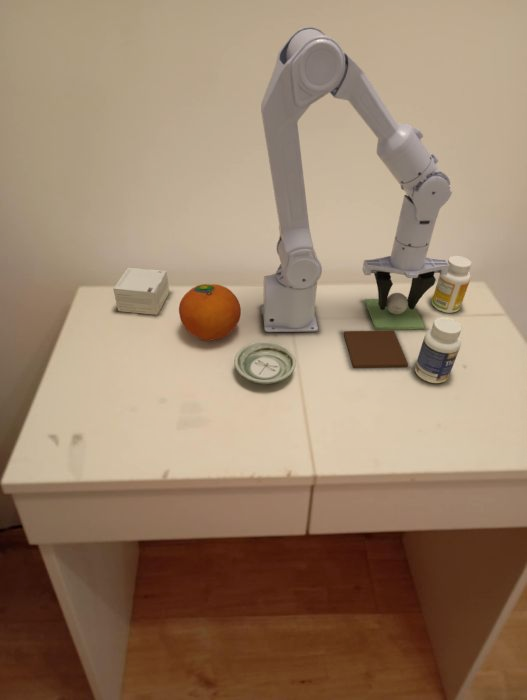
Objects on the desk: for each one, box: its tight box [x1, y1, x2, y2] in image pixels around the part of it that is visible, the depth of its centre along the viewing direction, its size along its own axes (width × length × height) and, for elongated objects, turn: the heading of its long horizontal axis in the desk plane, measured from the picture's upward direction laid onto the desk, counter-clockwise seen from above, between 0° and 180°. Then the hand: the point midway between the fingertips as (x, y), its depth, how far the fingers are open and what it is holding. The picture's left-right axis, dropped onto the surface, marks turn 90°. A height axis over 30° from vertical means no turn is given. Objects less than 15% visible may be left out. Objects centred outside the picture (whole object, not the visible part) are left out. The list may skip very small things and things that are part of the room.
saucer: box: [234, 340, 297, 385], centre depth 75 cm, size 10×10×2 cm
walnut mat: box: [343, 330, 409, 369], centre depth 80 cm, size 9×9×1 cm
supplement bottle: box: [431, 255, 472, 313], centre depth 88 cm, size 5×5×10 cm
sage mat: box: [364, 298, 426, 331], centre depth 88 cm, size 9×9×1 cm
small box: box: [112, 267, 170, 316], centre depth 88 cm, size 8×8×5 cm
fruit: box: [178, 283, 242, 341], centre depth 81 cm, size 11×10×8 cm
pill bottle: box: [414, 316, 462, 384], centre depth 73 cm, size 5×5×10 cm
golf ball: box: [386, 292, 408, 314], centre depth 87 cm, size 4×4×4 cm
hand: (395, 306), depth 87 cm, fingers open, 5 cm apart
